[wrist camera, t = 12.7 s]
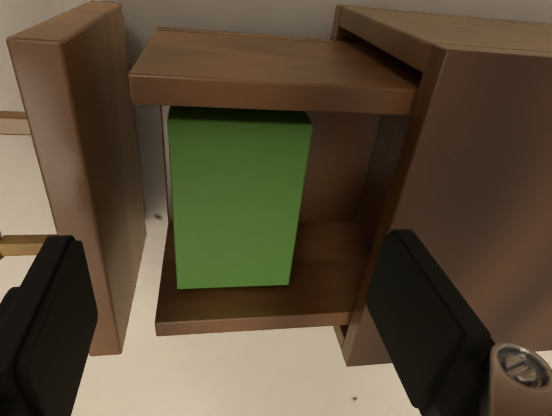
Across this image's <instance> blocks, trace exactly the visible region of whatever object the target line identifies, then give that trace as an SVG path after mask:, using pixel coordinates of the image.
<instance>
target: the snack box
mask: <svg viewBox="0 0 552 416" xmlns="http://www.w3.org/2000/svg"><path fill="white" fill-rule="evenodd" d="M167 129H168V146H169V162H170V179H171V195H172V212H173V229H174V245H175V262H176V278H177V288H178V289H195V288H220V287H245V286H270V285H288V284H289V279H290V272H291V266H292V260H293V253H294V247H295V240H296V234H297V227H298V221H299V214H300V208H301V201H302V195H303V188H304V182H305V175H306V169H307V163H308V156H309V150H310V143H311V137H312V130H313V124H312V122H311V120H310V119H309V117H308V115H307V114H306V112H305V111H284V110H260V109H236V108H212V107H189V106H170V109H169V114H168V118H167Z"/></svg>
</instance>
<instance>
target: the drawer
mask: <svg viewBox="0 0 552 416" xmlns="http://www.w3.org/2000/svg"><path fill="white" fill-rule="evenodd" d="M6 42H7V46H8V49H9V53H10V57H11V61H12V64H13V68H14V72H15V76H16V80H17V83H18V87H19V91H20V95H21V98H22V102H23V106H24V110H25V112H12V111H0V134H3V135H31V136H32V140H33V144H34V148H35V151H36V155H37V159H38V163H39V166H40V170H41V174H42V178H43V182H44V185H45V189H46V193H47V197H48V200H49V204H50V208H51V212H52V216H53V219H54V223H55V227H56V231H57V234H55V235H72V236H74V238H75V240H76V241H78V240H80V241H82V243H83V247H84V251H85V255H86V260H87V264H88V269H89V273H90V278H91V282H92V287H93V291H94V296H95V300H96V305H97V309H98V320H97V325H96V329H95V332H94V336H93V339H92V343H91V346H90V350H89V355H90V356H102V355H117V354H121V353H122V350H123V345H124V340H125V335H126V330H127V326H128V321H129V316H130V311H131V306H132V301H133V297H134V292H135V287H136V282H137V277H138V272H139V268H140V263H141V258H142V253H143V248H144V244H145V239H146V234H147V233H146V224H145V215H144V205H143V196H142V187H141V178H140V168H139V159H138V150H137V141H136V132H135V122H134V113H133V104H141V105H160V110H161V125H162V139H163V154H164V168H165V183H166V197H167V212H168V229H167V236H166V244H165V251H164V258H163V266H162V273H161V281H160V288H159V295H158V303H157V310H156V317H155V330H156V336H171V335H187V334H204V333H220V332H237V331H253V330H269V329H286V328H302V327H319V326H335V325H349V324H350V321H351V317H352V314H353V310H354V307H355V304H356V300H357V297H358V293H359V290H360V287H361V283H362V280H363V276H364V273H365V269H366V266H367V263H368V259H369V256H370V252H371V249H372V246H373V242H374V239H375V235H376V232H377V229H378V225H379V222H380V218H381V215H382V212H383V208H384V205H385V201H386V198H387V195H388V191H389V188H390V184H391V181H392V178H393V174H394V171H395V167H396V164H397V161H398V157H399V154H400V150H401V147H402V144H403V140H404V137H405V133H406V130H407V126H408V123H409V120H410V116H411V113H412V109H413V106H414V103H415V99H416V96H417V92H418V89H419V86H420V82H421V79H422V75H423V73H422V72H420V71H418V70H417V69H415V68H413V67H411V66H409V65H408V64H406V63H404V62H402V61H401V60H399V59H397V58H395V57H393V56H392V55H390V54H388V53H386V52H385V51H383V50H381V49H379V48H377V47H376V46H374V45H372V44H370V43H362V42H349V41H336V40H323V39H310V38H297V37H284V36H271V35H258V34H245V33H232V32H219V31H206V30H193V29H180V28H167V27H157V29H156V31H155V32H154V33H153V35H152V37H151V38H150V40H149V41H148V43H147V45H146V46H145V48H144V49H143V51H142V52H141V54H140V56H139V57H138V59H137V60H136V62H135V64H134V65H133V67H132V68H131V70H130V72H129V67H128V58H127V48H126V39H125V30H124V21H123V12H122V5H121V4H120V3H112V2H100V1H90V2H87V3H85V4H83V5H81V6H78V7H76V8H74V9H72V10H69V11H67V12H65V13H62V14H60V15H58V16H56V17H53V18H51V19H49V20H46V21H44V22H42V23H40V24H37V25H35V26H33V27H31V28H28V29H26V30H24V31H21V32H19V33H17V34H15V35H12V36H10V37H8V38H7V40H6ZM170 106H189V107H212V108H236V109H260V110H284V111H305V112H306V114H307V115H308V117H309V119H310V120H311V122H312V124H313V130H312V137H311V143H310V150H309V156H308V163H307V169H306V175H305V182H304V188H303V195H302V201H301V208H300V214H299V221H298V227H297V234H296V240H295V247H294V253H293V260H292V266H291V272H290V279H289V284H288V285H270V286H245V287H220V288H195V289H178V288H177V278H176V262H175V245H174V229H173V212H172V195H171V179H170V162H169V146H168V129H167V118H168V114H169V109H170ZM48 236H54V235H4V236H3V237H2V235H1V232H0V260H1V259H2V258H3V257H4V256H20V255H37V254H38V252H39V251H40V249H41V247H42V245H43V243H44V241H45V240H46V238H47V237H48Z"/></svg>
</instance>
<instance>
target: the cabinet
mask: <svg viewBox="0 0 552 416" xmlns="http://www.w3.org/2000/svg"><path fill="white" fill-rule="evenodd" d="M331 40H336V41H349V42H362V43H370V44H372V45H374V46H376V47H377V48H379V49H381V50H383V51H385V52H386V53H388V54H390V55H392V56H393V57H395V58H397V59H399V60H401V61H402V62H404V63H406V64H408V65H409V66H411V67H413V68H415V69H417V70H418V71H420V72H422V73H423V75H422V79H421V82H420V86H419V89H418V92H417V96H416V99H415V103H414V106H413V109H412V113H411V116H410V120H409V123H408V126H407V130H406V133H405V137H404V140H403V144H402V147H401V150H400V154H399V157H398V161H397V164H396V167H395V171H394V174H393V178H392V181H391V184H390V188H389V191H388V195H387V198H386V201H385V205H384V208H383V212H382V215H381V218H380V222H379V225H378V229H377V232H376V235H375V239H374V242H373V246H372V249H371V252H370V256H369V259H368V263H367V266H366V269H365V273H364V276H363V280H362V283H361V287H360V290H359V293H358V297H357V300H356V304H355V307H354V310H353V314H352V317H351V321H350V324H349V325H335V326H333V327H334V330H335V333H336V336H337V339H338V342H339V345H340V348H341V350H342V354H343V357H344V360H345V363H346V366H347V367H350V366H362V365H375V364H387V363H392V361H391V359H390V357H389V354H388V352H387V350H386V348H385V346H384V343H383V341H382V339H381V337H380V335H379V333H378V330H377V328H376V326H375V324H374V322H373V320H372V317H371V315H370V313H369V311H368V309H367V306H366V294H367V291H368V288H369V285H370V282H371V278H372V275H373V272H374V269H375V265H376V262H377V259H378V256H379V252H380V249H381V246H382V243H383V240H384V237H385V235H387V234H389V233H390V231H391V230H393V229H411V230H413V231H414V232H415V234H416V235H417V236H418V238H419V239H420V240H421V242H422V243H423V244H424V246H425V247H426V248H427V250H428V251H429V252H430V254H431V255H432V256H433V258H434V259H435V260H436V262H437V263H438V264H439V266H440V267H441V268H442V270H443V271H444V272H445V274H446V275H447V276H448V278H449V279H450V280H451V282H452V283H453V284H454V286H455V287H456V288H457V290H458V291H459V292H460V294H461V295H462V296H463V298H464V299H465V300H466V302H467V303H468V304H469V305H470V307H471V308H472V309H473V311H474V312H475V313H476V315H477V316H478V317H479V319H480V320H481V321H482V323H483V324H484V325H485V327H486V328H487V329H488V331H489V332H490V333H491V338H492V340H493V341H494V342H495V344H496V343H499V342H503V341H507V342H514V343H518V344H521V345H523V346H525V347H527V348H529V349H531V350H532V351H534V352H535V351H547V350H552V25H551V24H540V23H529V22H519V21H508V20H498V19H487V18H477V17H466V16H456V15H445V14H434V13H424V12H413V11H403V10H392V9H382V8H371V7H360V6H350V5H339V4H338V5H337V6H336V12H335V18H334V25H333V31H332V37H331Z"/></svg>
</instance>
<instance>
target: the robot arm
mask: <svg viewBox="0 0 552 416" xmlns="http://www.w3.org/2000/svg"><path fill="white" fill-rule="evenodd" d="M366 306H367V309H368V311H369V313H370V315H371V317H372V320H373V322H374V324H375V326H376V328H377V330H378V333H379V335H380V337H381V339H382V341H383V343H384V346H385V348H386V350H387V352H388V354H389V357H390V359H391V361H392V363H393V365H394V367H395V370H396V372H397V374H398V376H399V378H400V380H401V383H402V385H403V387H404V389H405V391H406V393H407V396H408V398H409V400H410V402H411V404H412V405H413V406H414V407H415V408H418V409H419V411H420V413H421V415H422V416H552V369H551V368H550V366H549V365H548V363H547V362H546V361H545V360H544V359H543V358H542V357H541V356H539V355H538V354H537V353H535V352H534V351H532V350H531V349H529V348H527V347H525V346H523V345H521V344H518V343H514V342H507V341H503V342H499V343H496V344H495V342H494V341H493V340H492V338H491V333H490V332H489V331H488V329H487V328H486V327H485V325H484V324H483V323H482V321H481V320H480V319H479V317H478V316H477V315H476V313H475V312H474V311H473V309H472V308H471V307H470V305H469V304H468V303H467V302H466V300H465V299H464V298H463V296H462V295H461V294H460V292H459V291H458V290H457V288H456V287H455V286H454V284H453V283H452V282H451V280H450V279H449V278H448V276H447V275H446V274H445V272H444V271H443V270H442V268H441V267H440V266H439V264H438V263H437V262H436V260H435V259H434V258H433V256H432V255H431V254H430V252H429V251H428V250H427V248H426V247H425V246H424V244H423V243H422V242H421V240H420V239H419V238H418V236H417V235H416V234H415V232H414V231H413V230H411V229H393V230H391V231H390V233H389V234H387V235H385V237H384V240H383V243H382V246H381V249H380V252H379V256H378V259H377V262H376V265H375V269H374V272H373V275H372V278H371V282H370V285H369V288H368V291H367V294H366ZM97 320H98V309H97V305H96V300H95V296H94V291H93V287H92V282H91V278H90V273H89V269H88V264H87V260H86V255H85V251H84V247H83V243H82V241H80V240H78V241H76V240H75V238H74V236H72V235H54V236H48V237H47V238H46V240H45V241H44V243H43V245H42V247H41V249H40V251H39V252H38V254H37V256H36V258H35V260H34V262H33V263H32V265H31V267H30V269H29V271H28V273H27V275H26V276H25V278H24V280H23V282H22V284H21V286H20V287H13V288H11V289H9V291H8V292H7V293H6V295H5V296H4V298H3V300H2V302H1V303H0V416H71V413H72V410H73V406H74V403H75V399H76V395H77V392H78V388H79V385H80V381H81V378H82V374H83V371H84V367H85V364H86V360H87V357H88V353H89V350H90V346H91V343H92V339H93V336H94V332H95V329H96V325H97Z"/></svg>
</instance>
